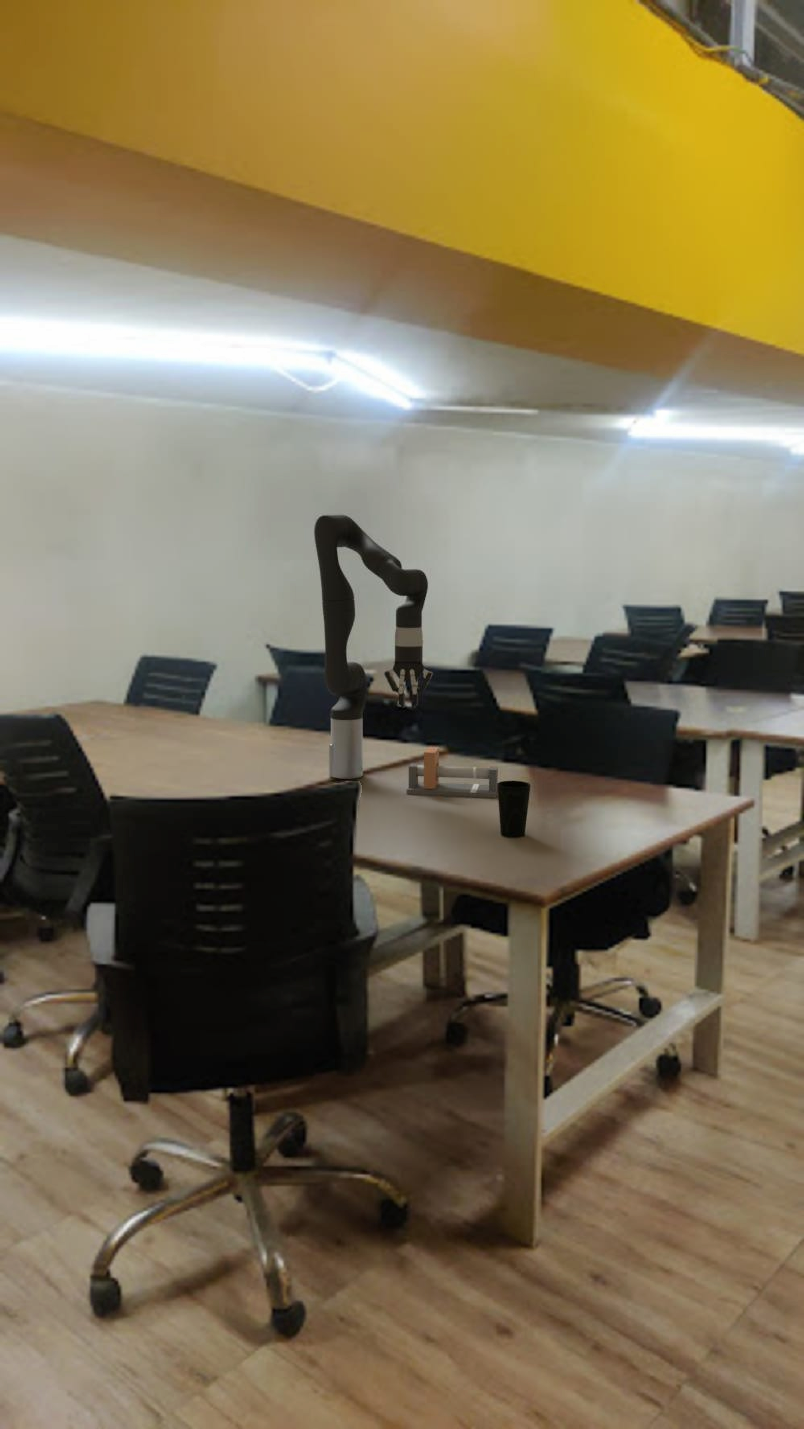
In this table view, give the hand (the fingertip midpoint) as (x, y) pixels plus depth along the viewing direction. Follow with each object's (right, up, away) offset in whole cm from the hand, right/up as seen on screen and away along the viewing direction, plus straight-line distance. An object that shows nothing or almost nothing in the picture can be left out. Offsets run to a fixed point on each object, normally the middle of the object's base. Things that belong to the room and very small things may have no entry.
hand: (408, 707), depth 279 cm
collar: (+6, -22, +2) cm, 23 cm away
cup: (+24, -30, -41) cm, 56 cm away
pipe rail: (+12, -23, +2) cm, 26 cm away
